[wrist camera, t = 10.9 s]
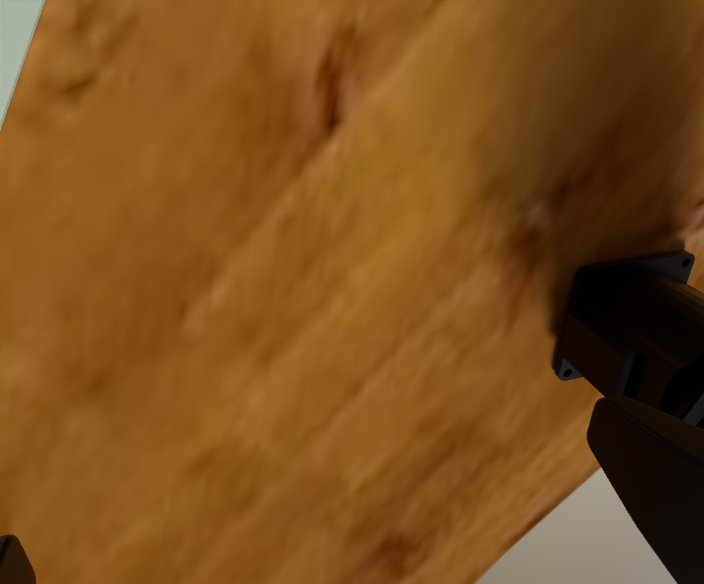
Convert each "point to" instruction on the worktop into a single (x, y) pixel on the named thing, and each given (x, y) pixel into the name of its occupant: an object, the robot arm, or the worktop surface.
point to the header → (15, 43)
